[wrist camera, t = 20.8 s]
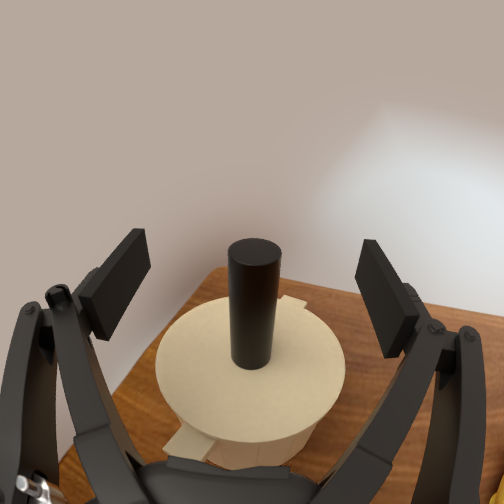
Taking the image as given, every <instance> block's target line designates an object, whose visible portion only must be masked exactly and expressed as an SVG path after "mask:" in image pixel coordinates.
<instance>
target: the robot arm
mask: <svg viewBox="0 0 504 504" xmlns="http://www.w3.org/2000/svg"><path fill="white" fill-rule="evenodd" d="M150 268H151V264H150V259H149V253H148V248H147V242H146V236H145V230H144V229H137V228H134V229H132V231H131V232H130V233H129V234H128V235H127V236H126V237H125V238H124V240H123V241H122V242H121V243H120V244H119V245H118V246H117V248H116V249H115V250H114V251H113V252H112V254H111V255H110V256H109V257H108V258H107V259H106V261H105V262H104V263H103V264H102V265H101V267H100V268H98V267H96V268H95V269H93V270H92V271H90V272H89V273H88V274H87V276H86V277H85V279H84V280H82V282H81V284H79V286H78V287H77V288H76V289H75V290H74V292H73V293H72V294H70V291H69V288H68V286H67V285H65V284H58V285H55V286H53V287H51V288H50V289H49V290H48V291H47V292H46V293H45V299H46V301H47V303H48V305H49V307H50V308H49V309H41V306H40V304H39V303H38V302H36V301H34V302H29V303H27V304H25V305H24V306H23V307H22V308H21V310H20V313H19V316H18V319H17V322H16V326H15V329H14V332H13V336H12V340H11V344H10V348H9V352H8V356H7V360H6V365H5V370H4V375H3V381H2V387H1V394H0V504H68V501H67V499H66V498H65V497H64V495H63V492H62V491H61V489H60V488H59V464H58V454H57V441H56V404H55V403H56V377H57V363H58V365H59V370H60V374H61V379H62V384H63V388H64V392H65V396H66V400H67V404H68V407H69V411H70V415H71V418H72V421H73V424H74V428H75V431H76V436H75V437H74V440H73V441H74V445H75V448H76V451H77V453H78V456H79V459H80V461H81V464H82V466H83V469H84V471H85V474H86V476H87V478H88V481H89V483H90V485H91V487H92V489H93V492H94V494H95V496H96V497H95V498H93V499H91V500H90V501H88V502H86V503H85V504H369V503H370V501H371V500H372V499H373V497H374V496H375V494H376V493H377V492H378V490H379V489H380V487H381V486H382V484H383V483H384V481H385V479H386V478H387V476H388V475H389V473H390V471H391V469H392V466H393V465H392V460H393V459H394V457H395V455H396V453H397V452H398V450H399V448H400V446H401V444H402V443H403V441H404V439H405V437H406V435H407V433H408V431H409V429H410V427H411V425H412V423H413V421H414V419H415V417H416V415H417V413H418V410H419V408H420V406H421V404H422V401H423V399H424V397H425V394H426V392H427V389H428V387H429V384H430V382H431V379H432V377H433V374H434V371H436V378H435V389H434V399H433V407H432V414H431V421H430V427H429V433H428V438H427V443H426V448H425V453H424V457H423V461H422V466H421V470H420V473H419V477H418V481H417V484H416V487H415V491H414V494H413V498H412V501H411V504H480V497H479V486H480V480H481V474H482V467H483V459H484V448H485V434H486V387H485V371H484V361H483V352H482V344H481V338H480V335H479V333H478V332H477V331H476V330H475V329H474V328H472V327H470V326H462V327H461V328H460V330H459V332H458V333H456V332H451V331H447V330H446V327H445V326H444V325H443V323H441V322H440V321H438V320H436V319H432V318H431V316H430V314H429V313H428V311H427V309H426V307H425V306H424V304H423V302H422V301H421V299H420V297H418V294H417V292H416V290H415V289H414V288H413V287H412V286H411V285H409V284H408V283H402V282H401V280H400V278H399V276H398V275H397V273H396V272H395V270H394V268H393V267H392V265H391V263H390V262H389V260H388V259H387V257H386V256H385V254H384V252H383V251H382V249H381V248H380V246H379V245H378V243H377V242H376V240H369V239H364V242H363V246H362V250H361V254H360V259H359V263H358V266H357V270H356V274H355V280H356V282H357V285H358V287H359V290H360V292H361V295H362V297H363V300H364V302H365V305H366V308H367V310H368V313H369V316H370V318H371V321H372V324H373V327H374V329H375V332H376V335H377V338H378V341H379V344H380V347H381V350H382V353H383V356H384V359H385V358H396V357H399V355H400V353H401V351H402V349H403V351H404V353H405V357H404V358H403V360H402V362H401V363H400V365H399V367H398V368H397V371H396V373H395V375H394V377H393V379H392V381H391V382H390V384H389V386H388V388H387V389H386V391H385V393H384V395H383V396H382V398H381V400H380V401H379V403H378V404H377V406H376V408H375V409H374V411H373V412H372V414H371V415H370V417H369V419H368V420H367V422H366V423H365V425H364V426H363V427H362V429H361V430H360V432H359V433H358V435H357V436H356V437H355V439H354V440H353V442H352V443H351V444H350V446H349V447H348V448H347V450H346V451H345V452H344V454H343V455H342V456H341V457H340V459H339V460H338V461H337V463H336V464H335V465H334V466H333V467H332V468H331V470H330V471H329V472H328V473H327V474H326V475H325V476H324V477H323V478H322V479H321V481H320V482H319V483H318V484H317V483H316V482H315V481H313V480H311V479H310V478H308V477H306V476H303V475H301V474H298V473H295V472H290V466H256V467H250V468H244V469H237V470H223V469H220V468H217V467H215V466H212V465H209V464H206V463H204V462H201V461H198V460H194V459H188V458H182V457H177V456H171V455H168V460H167V461H158V462H153V463H150V464H147V465H146V463H145V462H144V460H143V459H142V457H141V456H140V455H139V453H138V452H137V450H136V448H135V446H134V445H133V443H132V441H131V439H130V437H129V435H128V433H127V431H126V429H125V426H124V424H123V422H122V420H121V418H120V416H119V413H118V411H117V409H116V407H115V404H114V402H113V399H112V397H111V395H110V393H109V390H108V387H107V384H106V382H105V379H104V377H103V374H102V371H101V368H100V366H99V363H98V360H97V357H96V354H95V350H94V347H93V344H92V341H91V339H90V337H89V335H90V334H91V332H92V331H93V333H94V335H95V337H96V339H100V340H105V341H109V340H110V338H111V336H112V334H113V332H114V330H115V329H116V327H117V325H118V323H119V321H120V319H121V317H122V316H123V314H124V312H125V310H126V309H127V307H128V305H129V303H130V301H131V300H132V298H133V296H134V295H135V293H136V291H137V289H138V288H139V286H140V284H141V282H142V281H143V279H144V278H145V276H146V274H147V273H148V271H149V269H150Z"/></svg>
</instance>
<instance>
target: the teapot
mask: <svg viewBox="0 0 504 504" xmlns="http://www.w3.org/2000/svg"><path fill="white" fill-rule="evenodd" d="M489 504H504V474H503V477H502V479H501V482H500V485H499V488H498V491H497V492H496V493H495V494H494V495H493V496H492V497H491V499H490V503H489Z"/></svg>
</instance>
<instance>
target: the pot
mask: <svg viewBox="0 0 504 504" xmlns="http://www.w3.org/2000/svg"><path fill="white" fill-rule="evenodd" d="M281 300H284V301H288V302H290V303H293V304H296V305H298V306H300V307H302V308H304V309H306V305H307V302H305V301H302V300H299V299H296V298H293V297H290V296H287V295H284V296H283V297H282V298H281ZM178 419H179V421H180V423H181V425H182V427H181V428H180V429H179V430H178V431H177V432H176V434H175V435H174V436H173V437H172V438H171V439H170V441H169V442H168V443H167V444H166V445H165V446H164V447H163V450H164V452H165V453H166V454H167V455H171V456H177V457H182V458H188V459H194V460H198V461H201V462H205V461H206V459H208V460H209V461H211V462H212V463H214V464H216V465H218V466H221V467H223V468H226V469H230V470H237V469H244V468H250V467H256V466H279V465H282V464H284V463H285V462H287V461H288V460H290V459H291V458H293V457H294V456H295V455H296V454H297V453H298V452H299V451H300V450H301V449H303V448H304V446H305V444H306V442H307V441H308V439H309V437H310V435H311V434H312V432H313V430H314V428H315V426H316V425H317V423H316V424H315V425H314V426H312V427H311V428H310V429H308V430H306V431H304V432H303V433H301V434H299V435H297V436H294V437H292V438H289V439H286V440H283V441H279V442H275V443H270V444H261V445H242V444H234V443H228V442H223V441H220V440H217V439H214V438H211V437H208V436H206V435H204V434H202V433H200V432H198V431H196V430H195V429H193V428H192V427H190V426H189V425H187V424H186V423H185V422H184V421H182V420H181V419H180V418H179V417H178Z"/></svg>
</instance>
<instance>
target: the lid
mask: <svg viewBox="0 0 504 504" xmlns="http://www.w3.org/2000/svg"><path fill="white" fill-rule="evenodd" d="M281 255H282V252H281V249H280V247H279V246H277V245H276V244H275V243H273V242H271V241H268V240H264V239H258V238H248V239H242V240H239V241H236V242H234V243H233V244H232V245H231V246H230V247H229V249H228V287H229V297H225V298H220V299H217V300H213V301H210V302H207V303H205V304H202V305H200V306H198V307H196V308H194V309H192V310H190V311H189V312H187V313H186V314H184V315H183V316H181V317H180V318H179V319H178V320H177V321H176V322H175V323H174V324H173V325H172V326H171V327H170V328H169V329H168V331H167V332H166V334H165V335H164V337H163V339H162V341H161V342H160V345H159V348H158V351H157V356H156V377H157V382H158V385H159V387H160V390H161V393H162V395H163V397H164V398H165V400H166V402H167V404H168V405H169V407H170V408H171V409H172V410H173V412H174V413H175V414H176V415H177V416H178V417H179V418H180V419H181V420H182V421H184V422H185V423H186V424H187V425H189V426H190V427H192V428H193V429H195V430H196V431H198V432H200V433H202V434H204V435H206V436H208V437H211V438H214V439H217V440H220V441H223V442H228V443H234V444H242V445H261V444H270V443H275V442H279V441H283V440H286V439H289V438H292V437H294V436H297V435H299V434H301V433H303V432H304V431H306V430H308V429H310V428H311V427H312V426H314V425H315V424H316V423H318V422H319V421H320V420H321V419H322V418H323V417H324V416H325V415H326V414H327V413H328V412H329V411H330V409H331V408H332V406H333V405H334V403H335V402H336V400H337V398H338V396H339V394H340V392H341V389H342V386H343V382H344V378H345V359H344V355H343V351H342V348H341V346H340V344H339V341H338V340H337V338H336V336H335V335H334V333H333V332H332V331H331V330H330V328H329V327H328V326H327V325H326V324H325V323H324V322H323V321H322V320H321V319H319V318H318V317H317V316H315V315H314V314H312V313H311V312H309V311H308V310H306V309H304V308H302V307H300V306H298V305H296V304H293V303H290V302H288V301H284V300H281V299H277V296H278V287H279V277H280V266H281Z"/></svg>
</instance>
